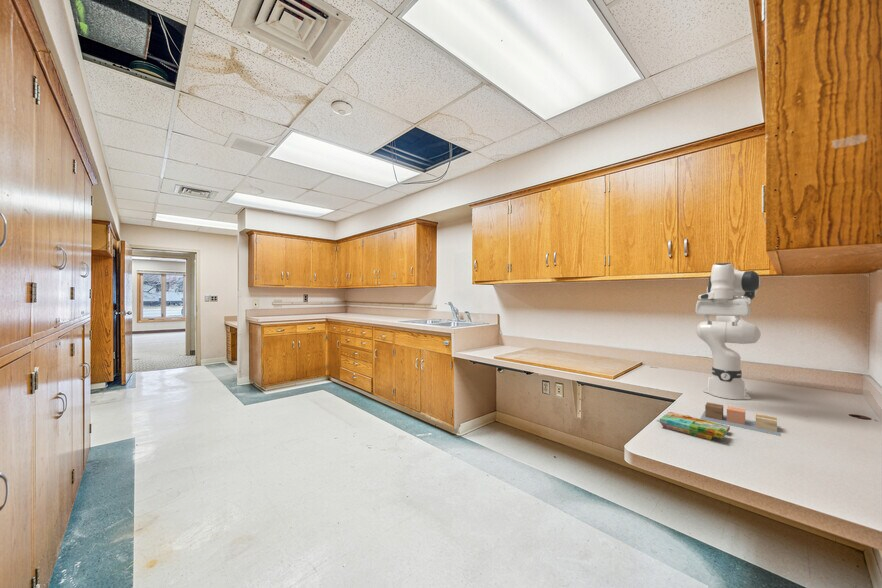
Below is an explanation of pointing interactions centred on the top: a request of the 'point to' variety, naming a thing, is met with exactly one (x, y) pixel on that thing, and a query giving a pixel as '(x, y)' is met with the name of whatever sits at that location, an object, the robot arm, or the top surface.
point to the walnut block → (714, 411)
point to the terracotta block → (736, 415)
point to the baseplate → (748, 425)
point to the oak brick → (766, 422)
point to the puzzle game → (694, 426)
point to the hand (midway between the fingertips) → (721, 325)
